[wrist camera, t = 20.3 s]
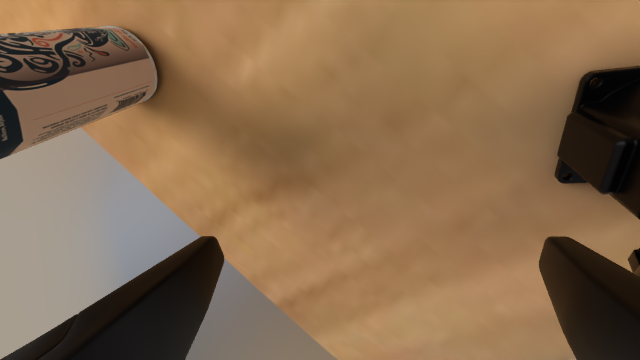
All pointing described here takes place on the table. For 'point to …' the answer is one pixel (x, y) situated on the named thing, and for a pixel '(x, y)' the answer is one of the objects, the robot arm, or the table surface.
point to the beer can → (68, 81)
